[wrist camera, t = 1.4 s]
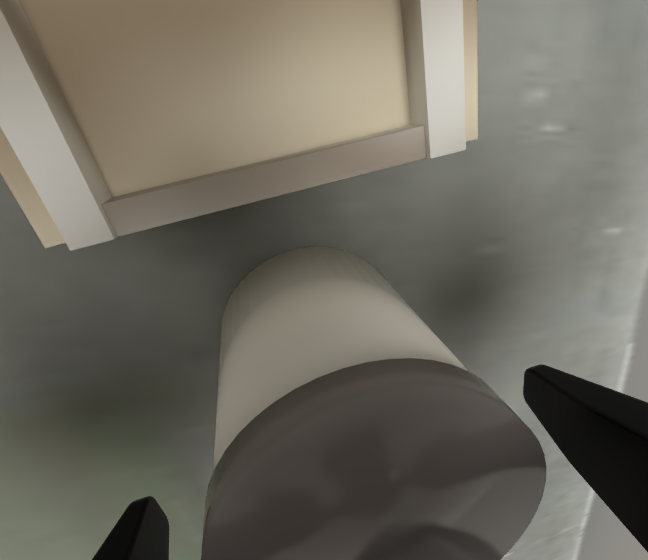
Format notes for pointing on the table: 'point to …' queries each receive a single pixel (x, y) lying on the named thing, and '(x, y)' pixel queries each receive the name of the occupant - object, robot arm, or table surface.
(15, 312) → the table surface
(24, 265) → the table surface
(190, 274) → the table surface
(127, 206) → the lane
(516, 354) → the table surface
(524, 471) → the jar
